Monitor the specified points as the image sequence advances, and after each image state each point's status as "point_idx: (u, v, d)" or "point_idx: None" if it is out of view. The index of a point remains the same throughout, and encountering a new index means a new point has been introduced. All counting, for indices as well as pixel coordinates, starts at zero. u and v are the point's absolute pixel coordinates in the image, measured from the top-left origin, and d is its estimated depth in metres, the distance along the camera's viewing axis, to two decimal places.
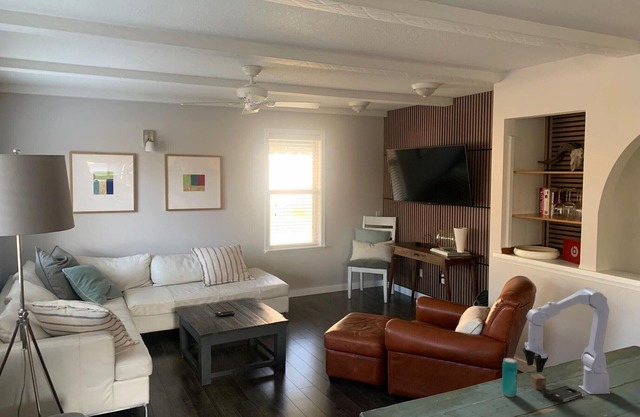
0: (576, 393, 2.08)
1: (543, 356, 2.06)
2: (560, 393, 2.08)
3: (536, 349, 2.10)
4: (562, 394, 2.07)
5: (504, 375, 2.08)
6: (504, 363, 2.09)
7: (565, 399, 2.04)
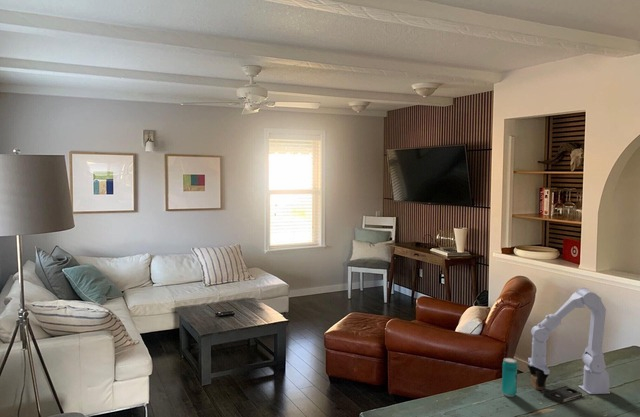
0: (576, 393, 2.08)
1: (546, 372, 2.10)
2: (560, 393, 2.08)
3: (539, 365, 2.14)
4: (562, 395, 2.07)
5: (504, 375, 2.08)
6: (504, 363, 2.09)
7: (565, 399, 2.04)
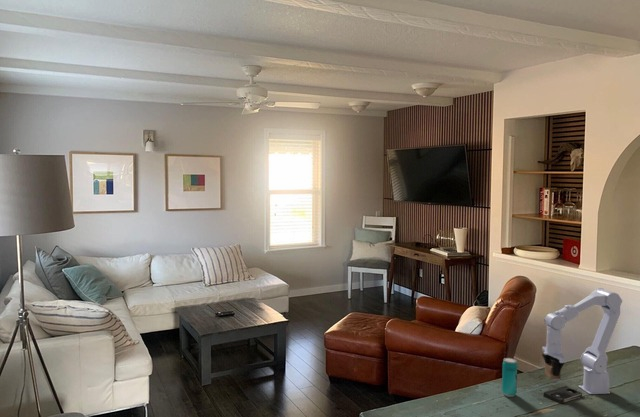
0: (576, 393, 2.08)
1: (562, 361, 2.04)
2: (560, 393, 2.08)
3: (554, 354, 2.09)
4: (562, 395, 2.07)
5: (504, 375, 2.08)
6: (504, 363, 2.09)
7: (565, 399, 2.04)
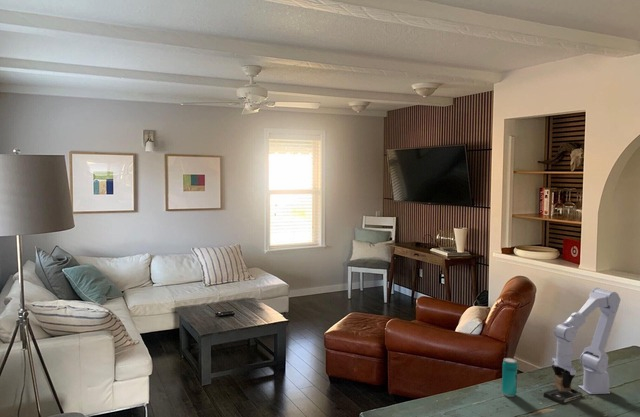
0: (577, 393, 2.08)
1: (572, 373, 2.01)
2: (561, 393, 2.08)
3: (565, 365, 2.05)
4: (563, 395, 2.06)
5: (504, 375, 2.08)
6: (504, 363, 2.09)
7: (566, 400, 2.03)
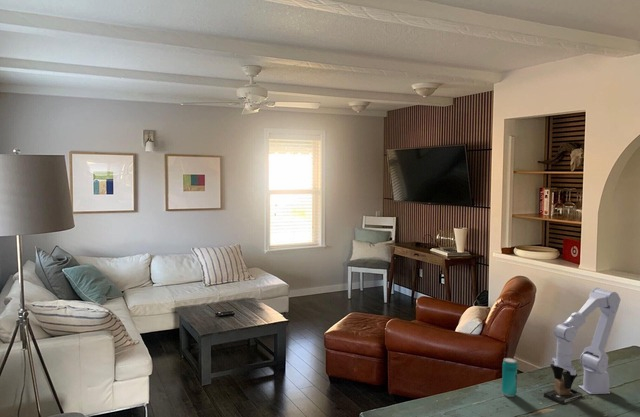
0: (577, 394, 2.08)
1: (572, 373, 2.01)
2: None
3: (565, 365, 2.05)
4: (563, 395, 2.06)
5: (504, 375, 2.08)
6: (504, 363, 2.09)
7: (566, 400, 2.03)
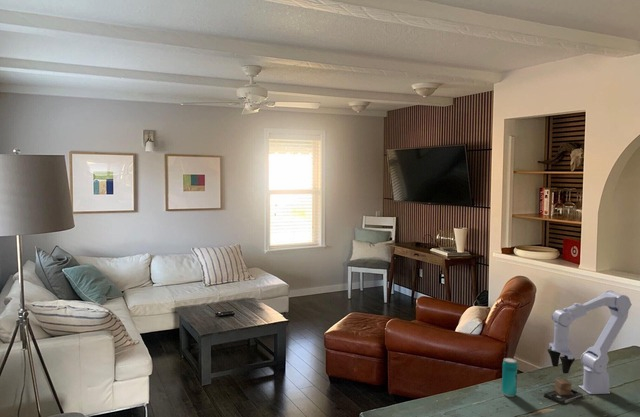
0: (577, 394, 2.08)
1: (570, 357, 2.05)
2: None
3: (562, 350, 2.09)
4: (563, 396, 2.06)
5: (504, 375, 2.08)
6: (504, 363, 2.09)
7: (566, 400, 2.03)
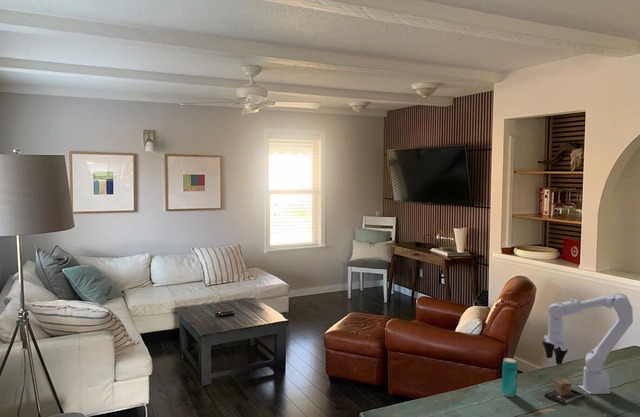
0: (577, 394, 2.07)
1: (563, 348, 2.13)
2: None
3: (556, 342, 2.17)
4: (563, 396, 2.06)
5: (504, 375, 2.08)
6: (504, 363, 2.09)
7: (567, 401, 2.03)
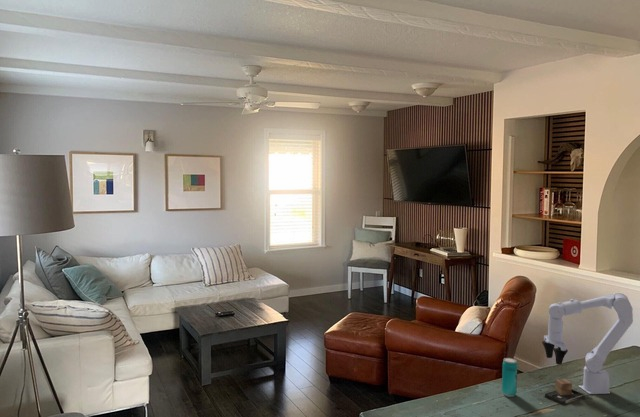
0: (578, 394, 2.07)
1: (563, 348, 2.13)
2: None
3: (556, 342, 2.17)
4: (564, 396, 2.06)
5: (504, 375, 2.08)
6: (504, 363, 2.09)
7: (567, 401, 2.03)
